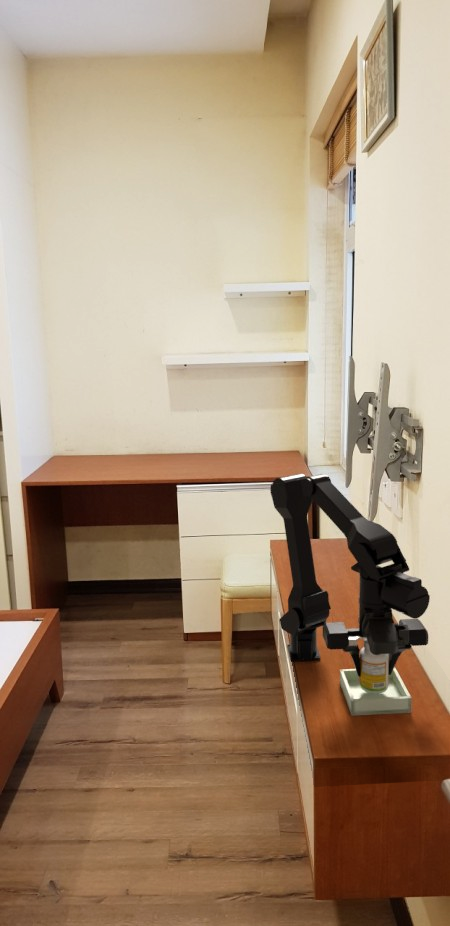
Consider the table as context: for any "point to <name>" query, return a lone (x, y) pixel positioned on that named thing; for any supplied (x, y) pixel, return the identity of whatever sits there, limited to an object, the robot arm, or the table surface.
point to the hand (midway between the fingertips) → (373, 674)
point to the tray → (375, 695)
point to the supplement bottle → (373, 670)
